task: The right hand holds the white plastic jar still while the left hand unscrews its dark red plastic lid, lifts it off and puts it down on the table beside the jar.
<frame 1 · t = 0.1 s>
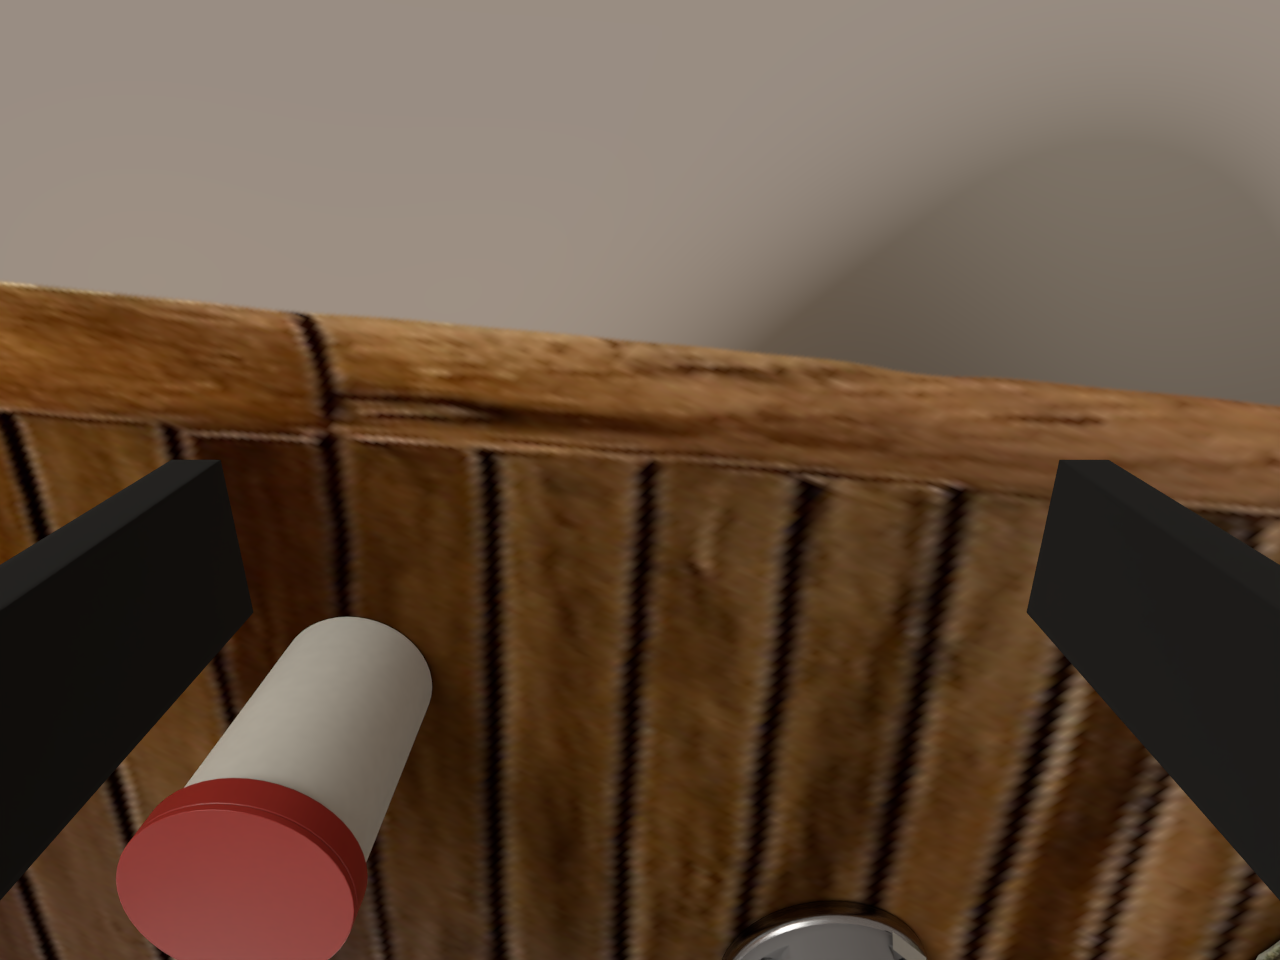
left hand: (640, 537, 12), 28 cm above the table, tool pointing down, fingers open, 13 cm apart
jar: (358, 679, 47), on the table
lid: (240, 892, 33), point 15 cm above the table, screwed on, not yet turned
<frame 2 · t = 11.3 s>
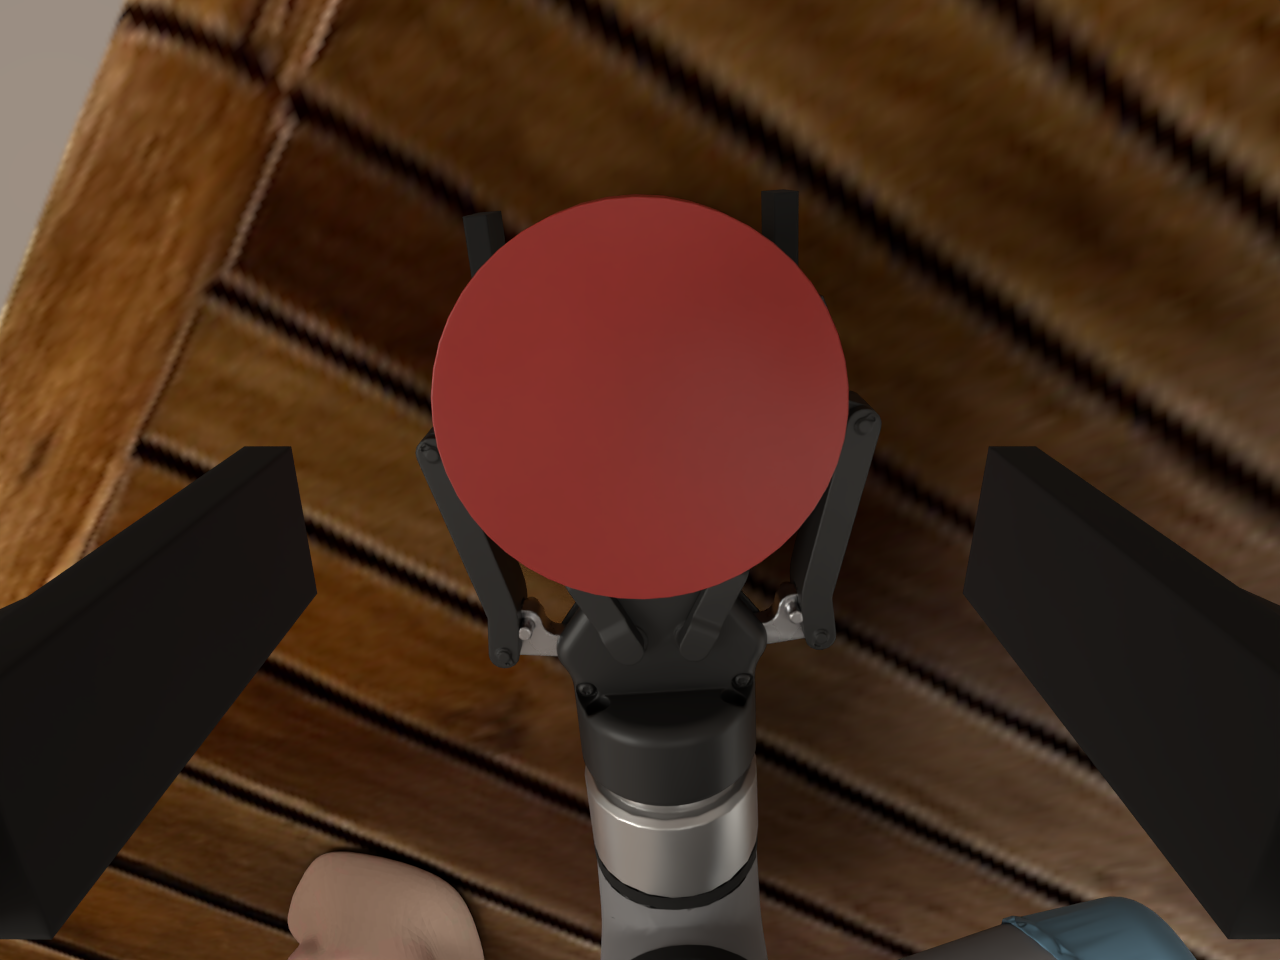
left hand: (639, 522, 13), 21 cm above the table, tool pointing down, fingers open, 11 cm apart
right hand: (630, 202, 25), fingers closed on jar, 9 cm apart
anatomical model: (389, 930, 46), on the table
lid: (640, 414, 19), point 15 cm above the table, screwed on, not yet turned
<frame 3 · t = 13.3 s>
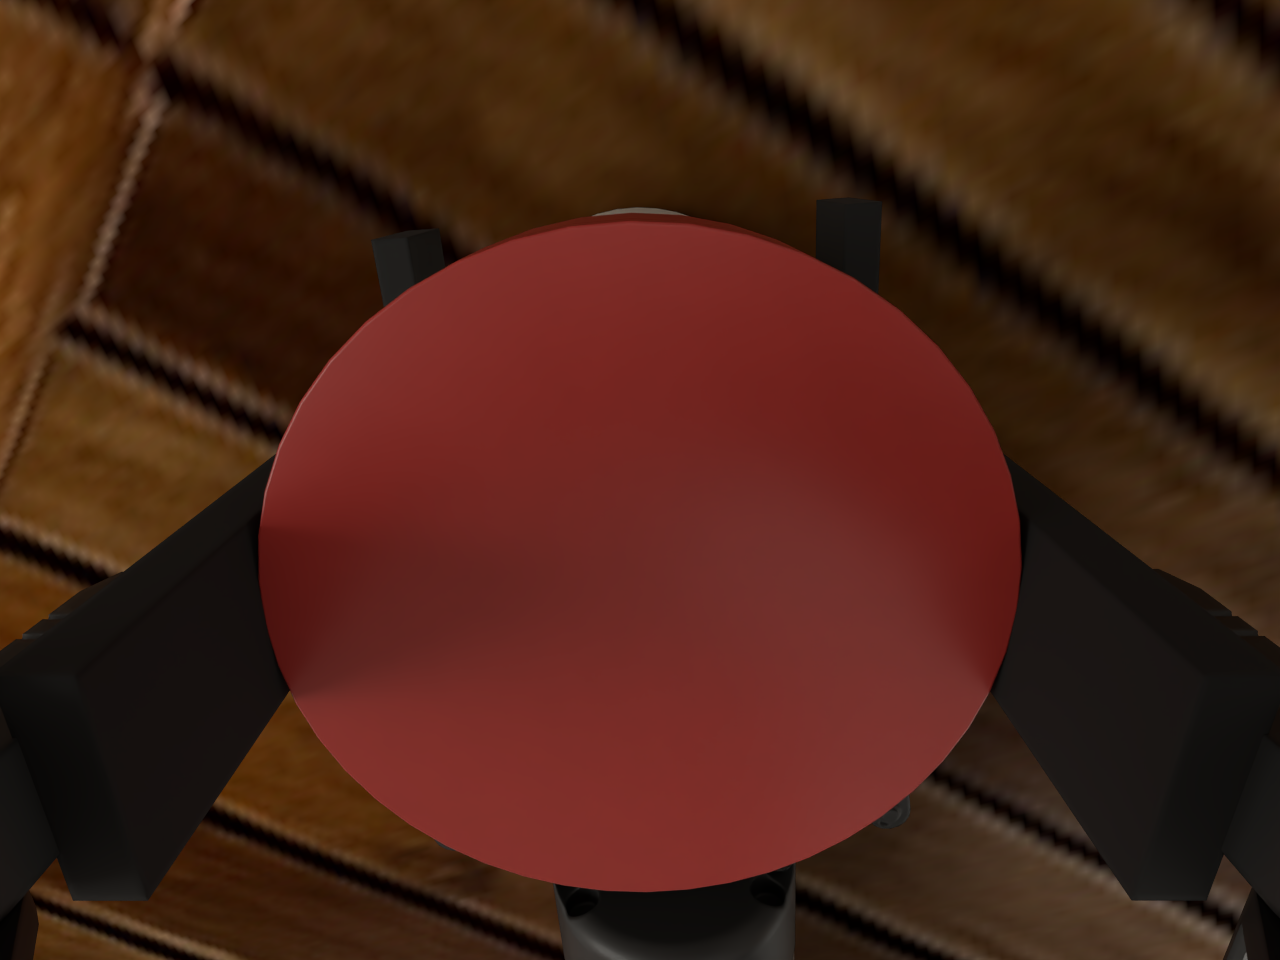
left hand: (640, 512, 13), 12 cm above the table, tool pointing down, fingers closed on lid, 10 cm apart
jar: (640, 358, 24), on the table, touching right hand
lid: (639, 604, 10), point 15 cm above the table, screwed on, not yet turned, touching left hand
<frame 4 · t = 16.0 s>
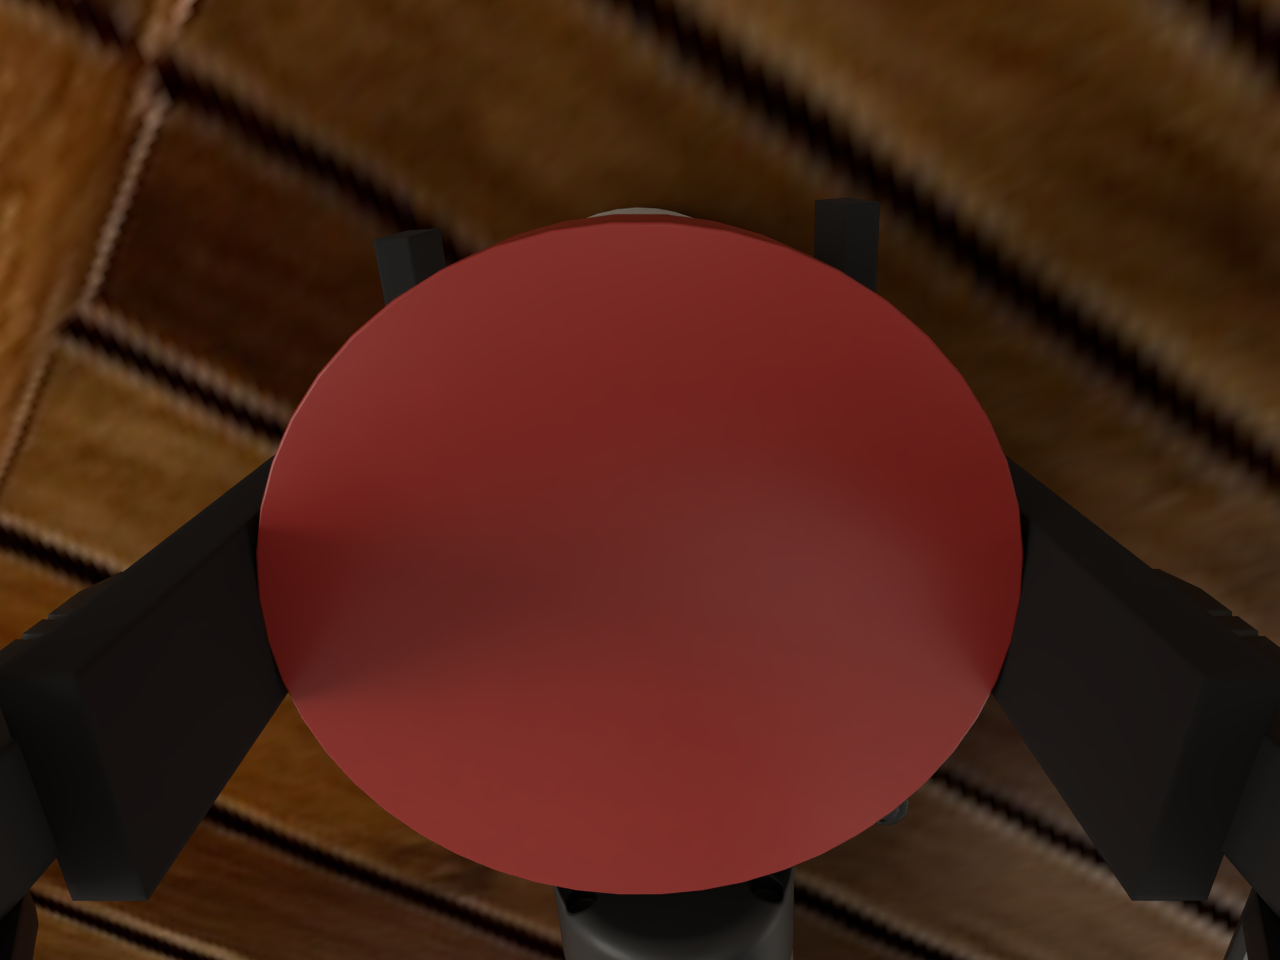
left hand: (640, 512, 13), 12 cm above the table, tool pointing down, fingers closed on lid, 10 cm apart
jar: (639, 357, 24), on the table, touching right hand
lid: (639, 606, 10), point 15 cm above the table, turned 62° so far, risen 0.2 cm, still on its thread, touching left hand
when the left hand's fingers open (0 cm above the table, at t = 22.4 s): lid drops 2 cm, point 1 cm above the table.
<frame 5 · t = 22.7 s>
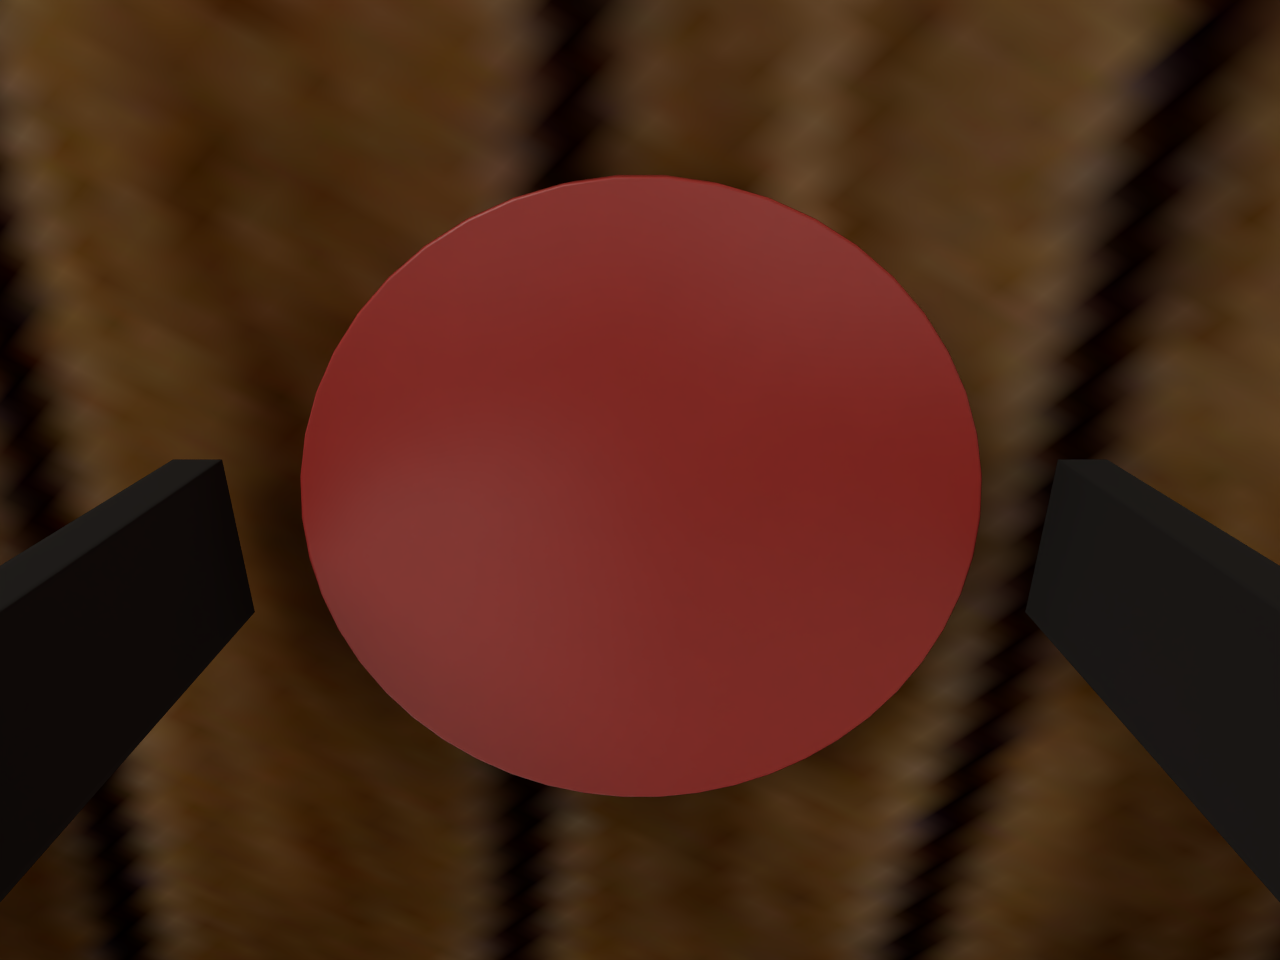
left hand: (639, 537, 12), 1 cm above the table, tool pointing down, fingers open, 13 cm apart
lid: (641, 527, 12), point 1 cm above the table, off its thread
when the right hand's fingers open (6 cm above the table, at t = 23.4 s): jar stays where it is, on the table.
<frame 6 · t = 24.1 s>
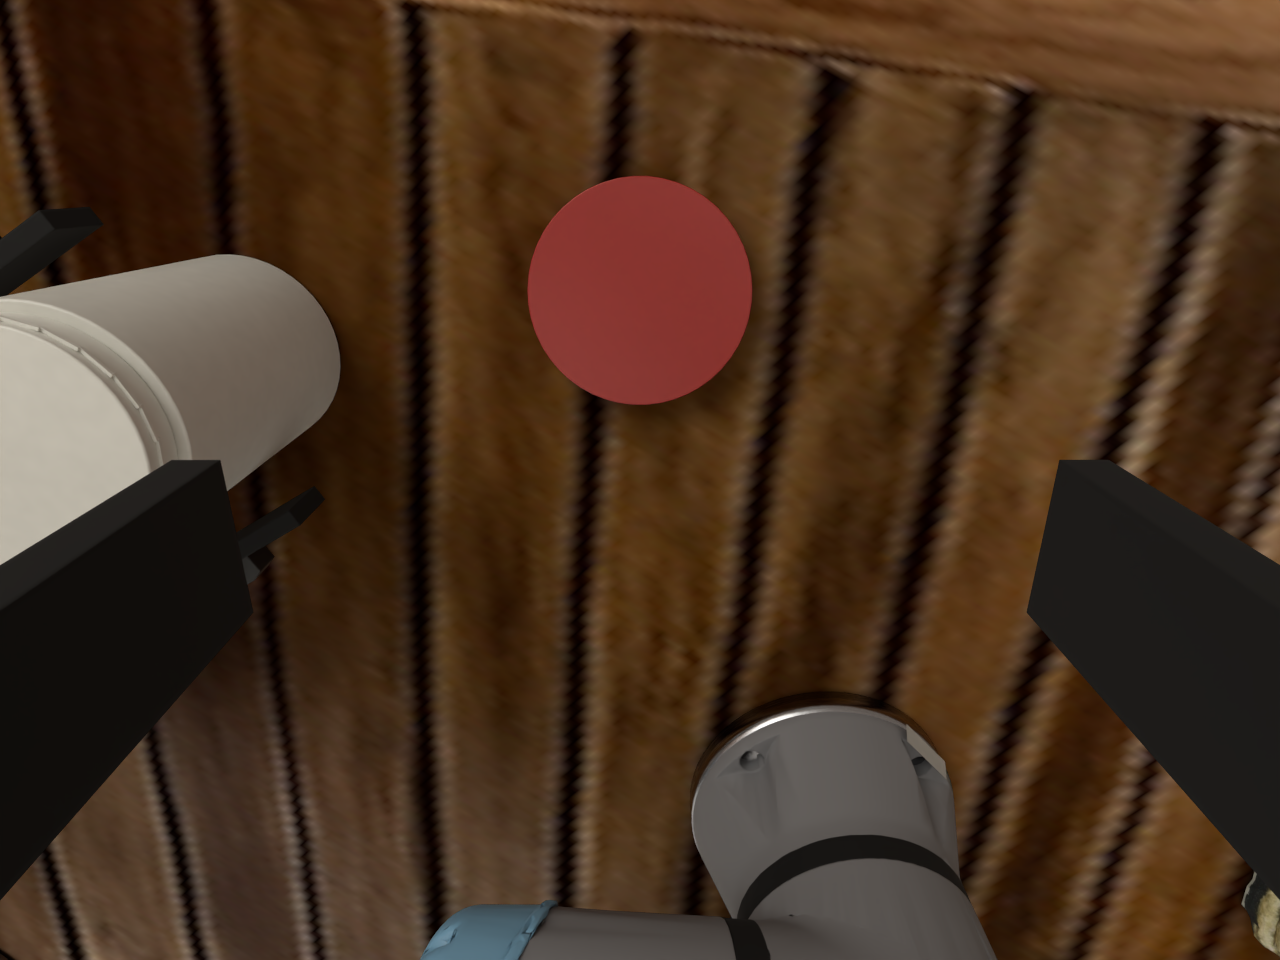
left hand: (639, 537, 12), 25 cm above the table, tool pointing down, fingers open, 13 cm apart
jar: (246, 351, 37), on the table
lid: (639, 295, 34), point 1 cm above the table, off its thread
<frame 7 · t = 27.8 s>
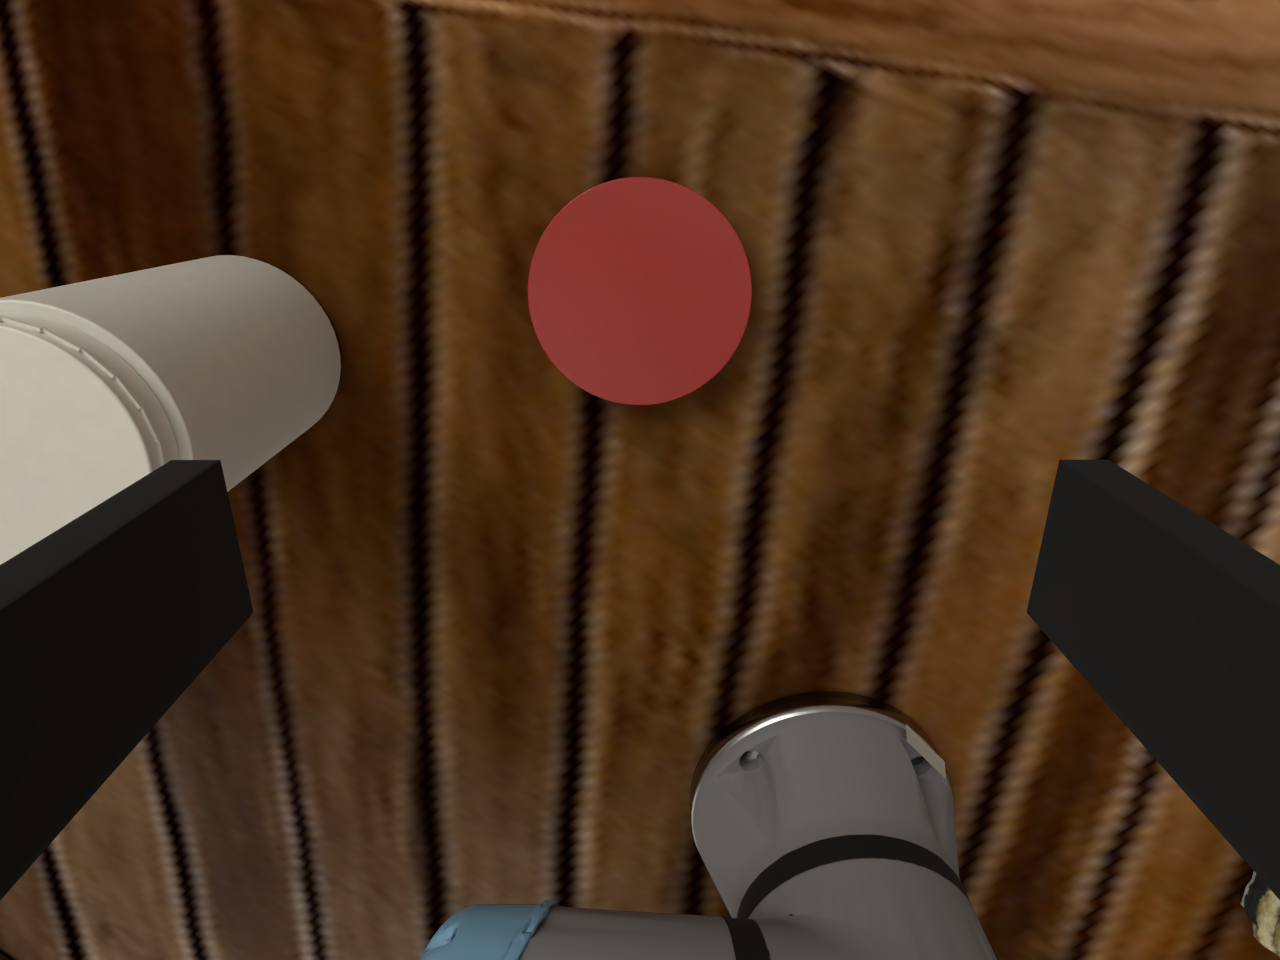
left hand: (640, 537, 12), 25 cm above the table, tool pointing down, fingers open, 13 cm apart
jar: (246, 352, 37), on the table
lid: (639, 296, 34), point 1 cm above the table, off its thread
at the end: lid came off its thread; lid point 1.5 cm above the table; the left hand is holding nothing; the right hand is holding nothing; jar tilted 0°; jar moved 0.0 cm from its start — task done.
